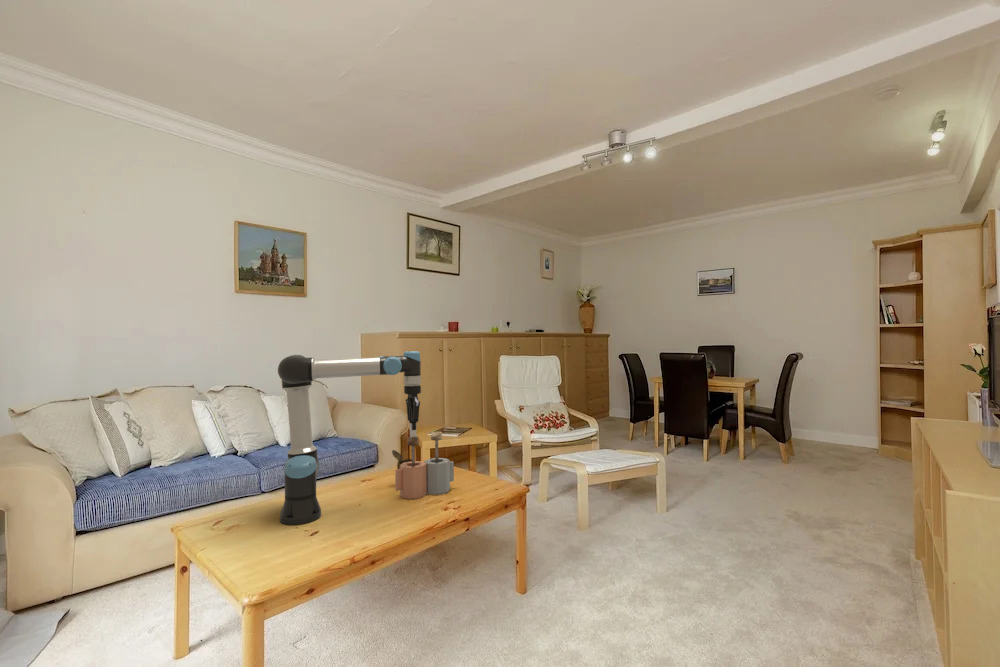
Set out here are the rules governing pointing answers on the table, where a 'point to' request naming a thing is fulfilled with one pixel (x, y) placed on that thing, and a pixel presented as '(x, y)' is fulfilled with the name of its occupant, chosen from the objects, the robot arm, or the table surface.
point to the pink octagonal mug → (411, 480)
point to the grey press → (439, 475)
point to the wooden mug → (399, 458)
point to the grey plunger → (436, 442)
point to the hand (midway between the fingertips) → (413, 436)
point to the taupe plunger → (413, 446)
